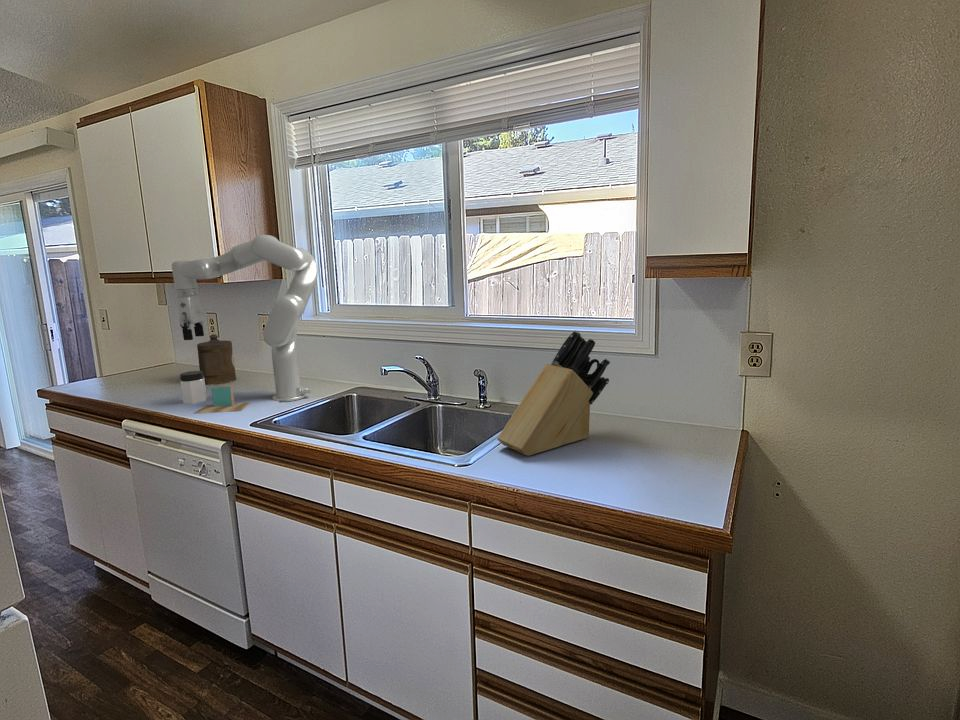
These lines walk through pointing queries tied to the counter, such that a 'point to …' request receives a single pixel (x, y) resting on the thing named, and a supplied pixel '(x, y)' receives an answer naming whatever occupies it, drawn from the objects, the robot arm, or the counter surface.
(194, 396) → the jar
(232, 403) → the tile
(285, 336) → the robot arm
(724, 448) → the counter surface
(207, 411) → the mat
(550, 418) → the knife block
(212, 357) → the wooden container
